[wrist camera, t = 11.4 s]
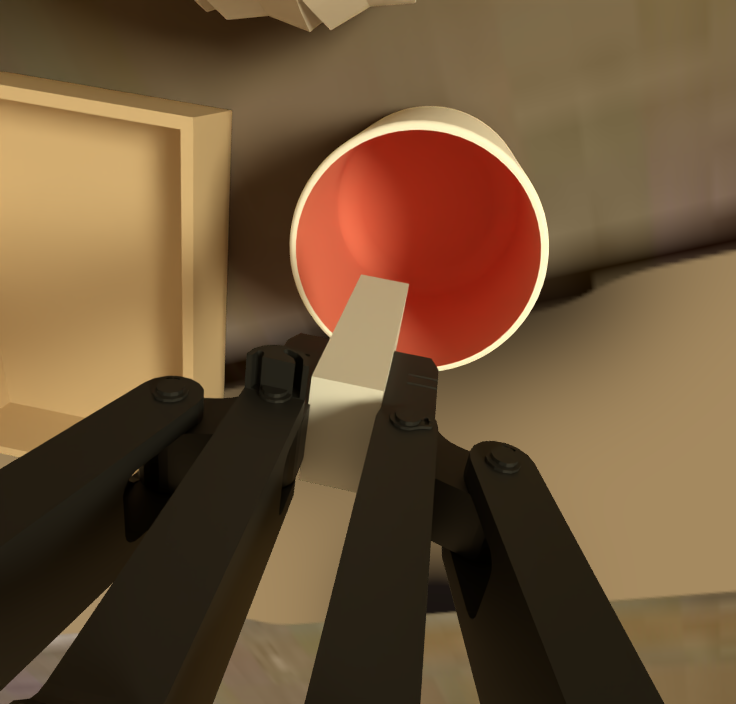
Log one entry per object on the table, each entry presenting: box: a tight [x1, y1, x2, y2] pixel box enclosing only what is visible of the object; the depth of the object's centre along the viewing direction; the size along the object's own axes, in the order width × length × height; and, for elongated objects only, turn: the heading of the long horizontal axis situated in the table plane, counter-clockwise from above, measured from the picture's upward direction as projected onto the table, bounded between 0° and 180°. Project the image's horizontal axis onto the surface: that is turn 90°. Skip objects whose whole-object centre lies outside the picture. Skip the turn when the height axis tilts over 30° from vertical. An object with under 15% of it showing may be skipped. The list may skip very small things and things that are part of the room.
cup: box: [290, 106, 549, 371], centre depth 26 cm, size 10×10×10 cm
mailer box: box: [0, 71, 232, 475], centre depth 33 cm, size 22×16×5 cm
